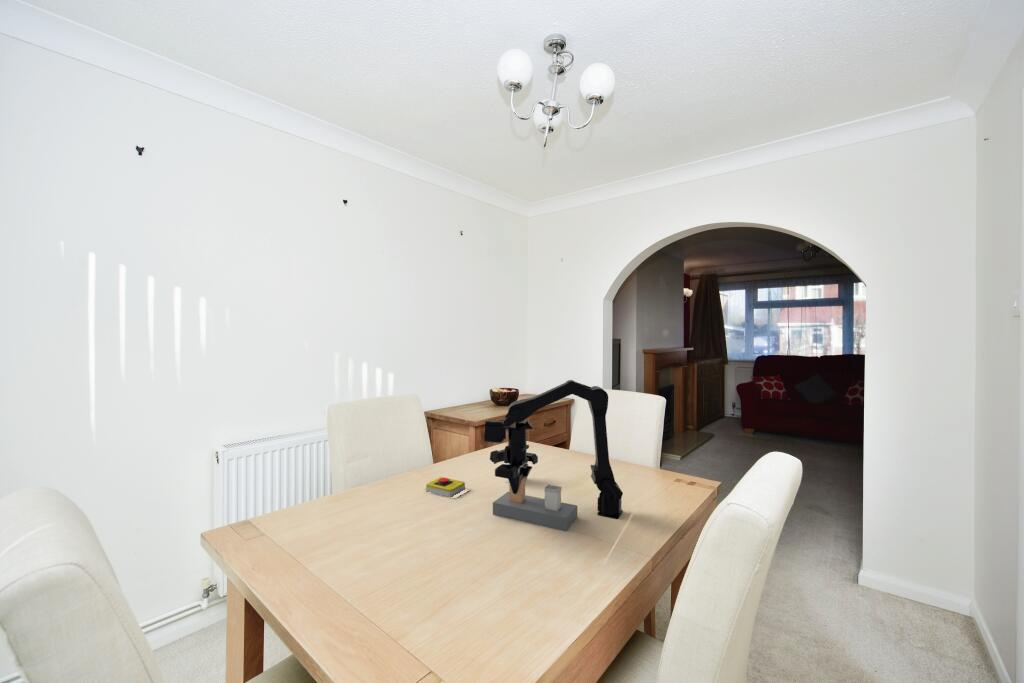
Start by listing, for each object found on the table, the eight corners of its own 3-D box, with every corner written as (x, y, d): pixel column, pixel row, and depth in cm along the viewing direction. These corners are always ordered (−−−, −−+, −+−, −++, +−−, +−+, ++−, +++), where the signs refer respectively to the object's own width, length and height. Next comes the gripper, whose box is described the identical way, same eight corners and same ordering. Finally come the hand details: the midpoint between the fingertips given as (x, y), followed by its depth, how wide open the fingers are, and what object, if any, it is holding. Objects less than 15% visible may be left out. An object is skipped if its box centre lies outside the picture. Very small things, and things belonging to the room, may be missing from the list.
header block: (577, 518, 133) (577, 505, 133) (565, 532, 124) (565, 518, 124) (507, 503, 144) (507, 491, 144) (492, 515, 135) (492, 502, 135)
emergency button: (437, 472, 163) (471, 479, 156) (437, 484, 163) (471, 491, 156) (421, 480, 155) (455, 487, 148) (421, 492, 155) (455, 500, 148)
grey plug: (561, 519, 132) (561, 486, 131) (557, 523, 129) (557, 490, 129) (548, 516, 134) (548, 484, 133) (544, 520, 131) (544, 487, 130)
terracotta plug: (525, 508, 137) (525, 476, 137) (521, 511, 134) (521, 479, 134) (513, 505, 139) (513, 474, 139) (509, 509, 136) (509, 477, 136)
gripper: (508, 433, 148) (508, 478, 149) (479, 446, 132) (479, 497, 132) (538, 436, 143) (538, 484, 143) (512, 451, 126) (512, 504, 127)
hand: (517, 491), depth 137 cm, fingers closed on terracotta plug, 3 cm apart
